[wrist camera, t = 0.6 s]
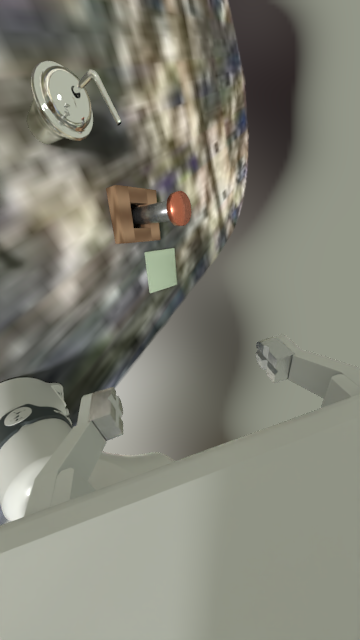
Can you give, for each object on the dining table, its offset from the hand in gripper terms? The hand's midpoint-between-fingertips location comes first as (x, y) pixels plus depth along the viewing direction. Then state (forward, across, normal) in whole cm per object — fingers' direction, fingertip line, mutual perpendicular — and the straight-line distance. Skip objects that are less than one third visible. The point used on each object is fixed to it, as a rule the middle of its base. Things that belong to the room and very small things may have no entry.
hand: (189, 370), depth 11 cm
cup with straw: (+47, -11, +20) cm, 52 cm away
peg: (+54, 0, +2) cm, 54 cm away
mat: (+56, +5, -14) cm, 58 cm away
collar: (+54, 0, +2) cm, 54 cm away
